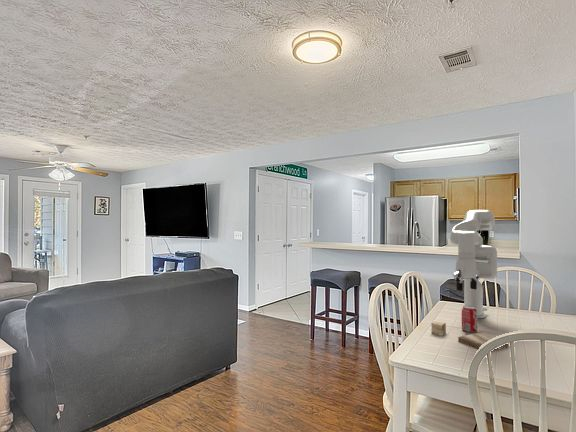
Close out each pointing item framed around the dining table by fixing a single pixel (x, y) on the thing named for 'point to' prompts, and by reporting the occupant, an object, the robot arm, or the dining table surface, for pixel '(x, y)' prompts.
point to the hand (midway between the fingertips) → (466, 289)
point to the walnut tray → (476, 340)
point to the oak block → (438, 327)
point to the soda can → (469, 319)
